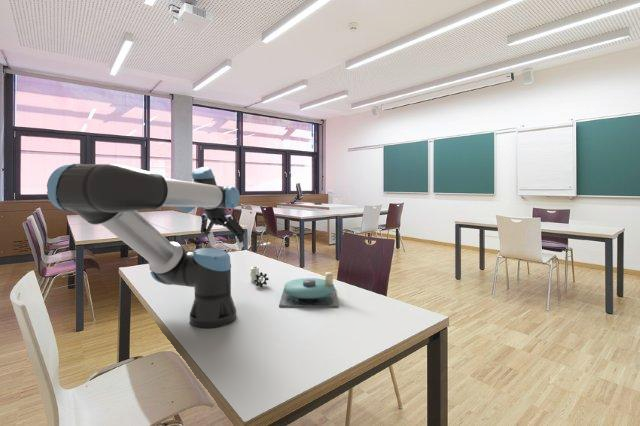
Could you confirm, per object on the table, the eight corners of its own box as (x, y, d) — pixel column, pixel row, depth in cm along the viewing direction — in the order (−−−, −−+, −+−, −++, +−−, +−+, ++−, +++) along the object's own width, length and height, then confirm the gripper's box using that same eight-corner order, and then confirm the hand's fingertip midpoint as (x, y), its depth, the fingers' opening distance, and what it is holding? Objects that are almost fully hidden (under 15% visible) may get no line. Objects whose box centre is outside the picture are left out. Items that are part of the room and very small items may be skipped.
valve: (246, 281, 157) (254, 288, 146) (246, 267, 156) (254, 273, 146) (260, 279, 160) (268, 286, 149) (260, 265, 159) (268, 271, 149)
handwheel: (282, 298, 125) (282, 280, 124) (286, 282, 145) (286, 266, 144) (335, 298, 125) (335, 280, 125) (332, 282, 145) (332, 267, 144)
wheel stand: (338, 307, 124) (338, 300, 124) (279, 307, 124) (279, 300, 124) (334, 288, 146) (334, 282, 146) (284, 288, 146) (284, 282, 146)
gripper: (245, 201, 132) (257, 243, 143) (192, 198, 140) (207, 238, 151) (236, 211, 126) (249, 254, 137) (181, 208, 134) (198, 249, 145)
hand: (227, 246), depth 144 cm, fingers open, 13 cm apart
